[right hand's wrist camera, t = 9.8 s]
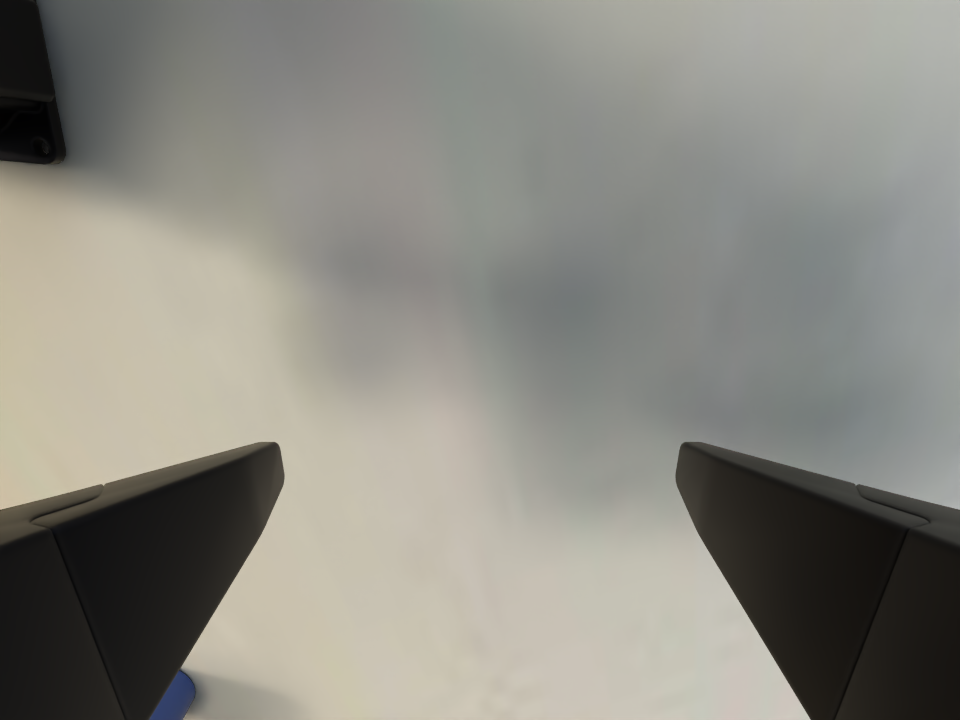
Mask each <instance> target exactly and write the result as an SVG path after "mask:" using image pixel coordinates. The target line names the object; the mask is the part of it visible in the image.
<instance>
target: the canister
mask: <svg viewBox="0 0 960 720" xmlns="http://www.w3.org/2000/svg"><path fill="white" fill-rule="evenodd" d="M194 697H195V687H194V685H193V683H192V681H191V680H190V679H189V678H188V677H187V676H186V675H185V674H184V673H182V672H181V671H178V673H177V675H176V676H175V678H174V680H173V681H172V683H171V684H170V686H169V688H168V689H167V691H166V693H165V694H164V696H163V698H162V699H161V701H160V703H159V704H158V706H157V708H156V709H155V711H154V713H153V714H152V716H151V718H150V719H149V720H183V718H184V716H185V714H186V712H187V711H188V709H189V707H190V705H191V703H192V701H193V699H194Z"/></svg>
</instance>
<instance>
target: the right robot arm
mask: <svg viewBox="0 0 960 720" xmlns="http://www.w3.org/2000/svg"><path fill="white" fill-rule="evenodd" d="M43 141H44V142H45V143H46V144H47V146H48V148H49V150H48V154H46V153H45V152H44V150H43V148H42V142H43ZM65 156H66V149H65V144H64V139H63V134H62V129H61V123H60V118H59V113H58V108H57V103H56V98H55V90H54V85H53V80H52V75H51V70H50V65H49V60H48V55H47V50H46V45H45V40H44V35H43V30H42V25H41V20H40V15H39V10H38V6H37V3H36V0H0V160H4V161H15V162H26V163H37V164H58V163H60V162H62V161H63V160H64V158H65ZM283 484H284V469H283V463H282V457H281V451H280V447H279V445H278V444H277V443H276V442H258V443H254V444H251V445H247V446H243V447H240V448H236V449H232V450H228V451H225V452H221V453H217V454H214V455H210V456H206V457H202V458H199V459H195V460H191V461H188V462H184V463H180V464H177V465H173V466H169V467H165V468H162V469H158V470H154V471H151V472H147V473H143V474H140V475H136V476H132V477H128V478H125V479H121V480H117V481H114V482H110V483H106V484H105V485H104V486H103V485H102V484H100V485H96V486H92V487H89V488H85V489H81V490H77V491H74V492H70V493H66V494H62V495H58V496H54V497H50V498H46V499H42V500H38V501H34V502H30V503H26V504H22V505H18V506H14V507H10V508H6V509H2V510H0V720H149V719H150V718H151V716H152V714H153V713H154V711H155V709H156V708H157V706H158V704H159V703H160V701H161V699H162V698H163V696H164V694H165V693H166V691H167V689H168V688H169V686H170V684H171V683H172V681H173V680H174V678H175V676H176V675H177V673H178V671H179V670H180V668H181V666H182V665H183V663H184V661H185V660H186V658H187V656H188V655H189V653H190V651H191V650H192V648H193V647H194V645H195V643H196V642H197V640H198V638H199V637H200V635H201V633H202V632H203V630H204V628H205V627H206V625H207V623H208V622H209V620H210V618H211V617H212V615H213V613H214V612H215V610H216V609H217V607H218V605H219V604H220V602H221V600H222V599H223V597H224V595H225V594H226V592H227V590H228V589H229V587H230V585H231V584H232V582H233V580H234V579H235V577H236V576H237V574H238V572H239V571H240V569H241V567H242V566H243V564H244V562H245V561H246V559H247V557H248V556H249V554H250V552H251V551H252V549H253V547H254V546H255V544H256V542H257V541H258V539H259V537H260V535H261V534H262V532H263V530H264V528H265V526H266V523H267V521H268V519H269V516H270V514H271V512H272V510H273V507H274V505H275V503H276V501H277V498H278V496H279V494H280V492H281V489H282V487H283ZM676 484H677V487H678V489H679V492H680V494H681V496H682V498H683V501H684V503H685V505H686V507H687V510H688V512H689V514H690V516H691V519H692V521H693V523H694V526H695V528H696V530H697V532H698V534H699V535H700V537H701V539H702V541H703V543H704V544H705V546H706V547H707V549H708V551H709V552H710V554H711V556H712V557H713V559H714V561H715V562H716V564H717V566H718V567H719V569H720V571H721V572H722V574H723V576H724V577H725V579H726V580H727V582H728V584H729V585H730V587H731V589H732V590H733V592H734V594H735V595H736V597H737V599H738V600H739V602H740V604H741V605H742V607H743V609H744V610H745V612H746V613H747V615H748V617H749V618H750V620H751V622H752V623H753V625H754V627H755V628H756V630H757V632H758V633H759V635H760V637H761V638H762V640H763V642H764V643H765V645H766V647H767V648H768V650H769V651H770V653H771V655H772V656H773V658H774V660H775V661H776V663H777V665H778V666H779V668H780V670H781V671H782V673H783V675H784V676H785V678H786V680H787V681H788V683H789V684H790V686H791V688H792V689H793V691H794V693H795V694H796V696H797V698H798V699H799V701H800V703H801V704H802V706H803V708H804V709H805V711H806V713H807V714H808V716H809V718H810V719H811V720H960V510H958V509H954V508H950V507H946V506H942V505H938V504H934V503H930V502H926V501H922V500H918V499H914V498H910V497H906V496H902V495H898V494H894V493H890V492H886V491H883V490H879V489H875V488H871V487H868V486H864V485H860V484H858V485H857V486H856V485H855V484H854V483H850V482H846V481H843V480H839V479H835V478H832V477H828V476H824V475H821V474H817V473H813V472H809V471H806V470H802V469H798V468H795V467H791V466H787V465H783V464H780V463H776V462H772V461H769V460H765V459H761V458H758V457H754V456H750V455H746V454H743V453H739V452H735V451H732V450H728V449H724V448H720V447H717V446H713V445H709V444H706V443H702V442H684V443H683V444H682V445H681V447H680V451H679V457H678V463H677V469H676Z"/></svg>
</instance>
